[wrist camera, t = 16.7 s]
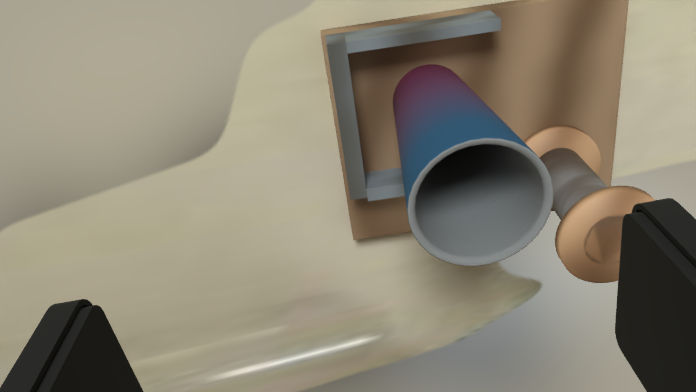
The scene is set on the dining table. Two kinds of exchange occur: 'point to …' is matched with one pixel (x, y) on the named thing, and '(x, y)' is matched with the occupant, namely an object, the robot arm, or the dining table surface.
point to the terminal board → (495, 109)
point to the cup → (465, 172)
